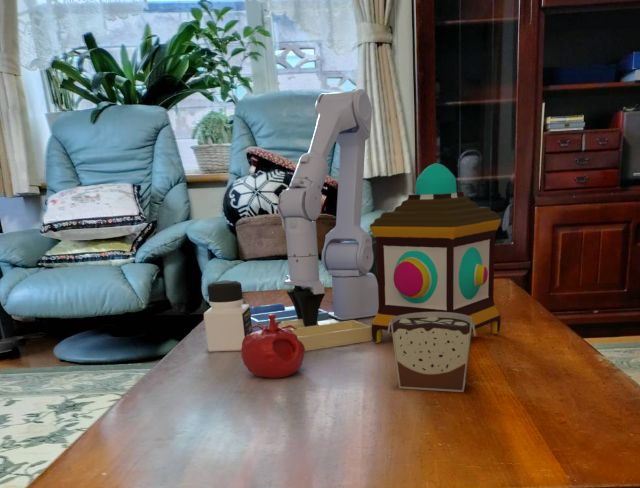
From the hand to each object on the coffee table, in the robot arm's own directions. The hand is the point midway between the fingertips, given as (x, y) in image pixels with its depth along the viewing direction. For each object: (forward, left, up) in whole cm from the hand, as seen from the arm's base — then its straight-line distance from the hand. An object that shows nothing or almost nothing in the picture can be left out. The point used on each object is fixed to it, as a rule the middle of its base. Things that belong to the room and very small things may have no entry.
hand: (308, 326), depth 133 cm
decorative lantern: (-18, +19, -2) cm, 26 cm away
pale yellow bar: (0, 0, -1) cm, 1 cm away
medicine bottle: (+16, +2, -2) cm, 16 cm away
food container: (-3, +43, -2) cm, 43 cm away
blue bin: (+1, -9, -1) cm, 9 cm away
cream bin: (0, +9, -1) cm, 9 cm away
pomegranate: (+15, +24, -2) cm, 28 cm away
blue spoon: (0, -19, -1) cm, 19 cm away
